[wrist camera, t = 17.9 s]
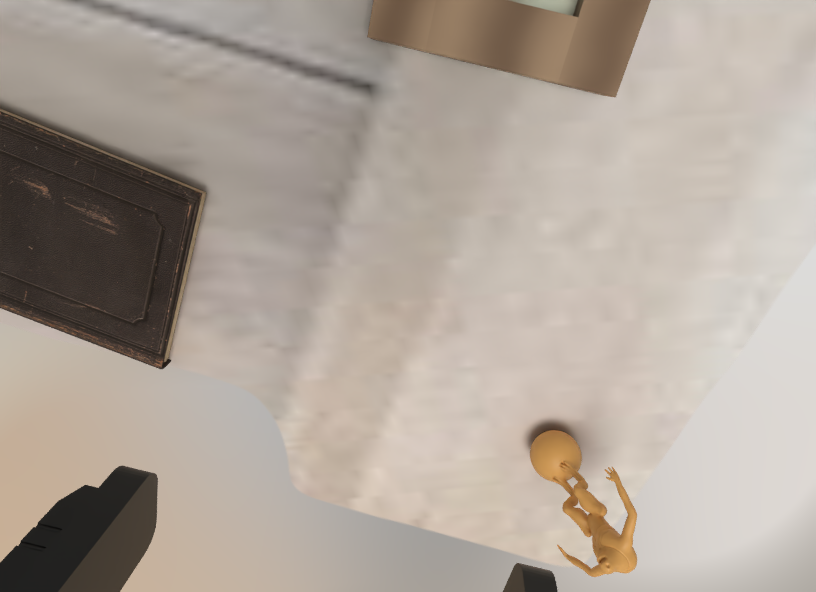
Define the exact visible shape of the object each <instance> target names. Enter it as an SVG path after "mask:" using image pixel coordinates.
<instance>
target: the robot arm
mask: <svg viewBox="0 0 816 592" xmlns="http://www.w3.org/2000/svg"><path fill="white" fill-rule="evenodd" d="M157 485H158V478H157V475H156V474H155V473H150V472H146V471H142V470H138V469H134V468H130V467H125V466H119V467H118V468H116V469H115V470H114V471H113V472H112V473H111V474H110V475H109V477H108V478H107V479H106V480H105V481H104V482H103V483H102V485H101V486H100V487H99V488H96V487H92V486H88V485H84V486H83V487H81V488H79V489H78V490H76V491H74V492H73V493H71V494H69V495H68V496H66V497H64V498H63V499H61V500H59V501H58V502H57V503H56V504H55V505H54V506H53V507H52V508H51V509H50V510H49V512H48V513H47V514H46V515H45V516H44V517H43V518H42V519H41V520H40V521H39V522H38V525H37V526H36V527H34V528H33V529H32V530H31V531H30V532H29V533H28V534H27V535H26V536H25V537H24V538H23V539H22V540H21V543H20V544H19V546H16V547H15V548H14V549H13V550H12V551H11V552H10V553H9V554H8V555H7V556H6V557H5V558H4V559H3V561H2V562H0V592H120V590H121V589H122V587H123V586H124V584H125V583H126V581H127V580H128V578H129V577H130V575H131V574H132V572H133V571H134V569H135V568H136V566H137V564H138V563H139V562H140V560H141V558H142V557H143V556H144V554H145V552H146V551H147V549H148V547H149V545H150V543H151V540H152V537H153V535H154V532H155V528H156V518H157ZM503 592H557V586H556V581H555V577H554V574H553V573H552V572H551V571H549V570H545V569H541V568H537V567H533V566H528V565H524V564H519V563H517V564H516V565H515V566H514V568H513V570H512V572H511V575H510V577H509V579H508V581H507V584H506V586H505V588H504V590H503Z"/></svg>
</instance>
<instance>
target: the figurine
mask: <svg viewBox="0 0 816 592" xmlns="http://www.w3.org/2000/svg"><path fill="white" fill-rule="evenodd" d="M530 458H531V462H532V465H533V467H534V469H535V470H536V472H537V473H538V474H539V475H540V476H542V477H543V478H545V479H547V480H549V481H553V482H556V483H558V484H560V485H561V486H563V487H564V488H565V490H566V491H567V492H568V493H569V494H570V495H571V496H570V497H569V498H568V499H567V500H566V501H565V502H564V503H563V511H564V513H566V514H567V515H569V516H570V517H571V518H572V519H573V520H574V521H575V522H576V523H577V524H578V525H579V527H580V528H581V530H582V531H583V533H584V534H585V536H587V537H590V536H593V537H592V542H593V549H594V550H593V551H594V553H595V555H596V557H597V562H598V563H599V565H597V566H595V567H593V568H592V569H591V568H590V567H589V566H588V565H586V564H584V563H583V562H581V561H580V560H578V559H577V558H575V557H572V556H569V555H568V554H567V553H565V552H564V550H563V549H562V548H560V547H559V545H557V546H558V547H559V549H560V551H561V552H562V553H563V555H564V556H565V557H566V558H567V559H568V560H569V561H570V562H571V563H573V564H574V565H576V566H577V567H579V568H581V569H583V570H584V571H585V572H586V573H587V574H588V575H590V576H592V577H597V576H601V575H603V574H611V573H613V572H620V573H629V572H631V571H632V570H634V569H635V567H636V564H637V556H636V553H635V551H634V549H633V547H632V544H633V533H634V529H635V524H636V519H637V513H636V511H635V508H634V506H633V505H632V503H631V501H630V499H629V497H628V495H627V493H626V491H625V489H624V487H623V486H622V484H621V481H620V478H619V476H618V474H617V472H616V471H615V469H614V468H613V467H612V469H613V471H614V472H613V471H612V470H611V469H610V468H609V467H608V469H609V470H610V472H611V473H610V472H608V471H607V470H605V471H606V472H607V473H608V474H609V475H610V476H611V478H609V477H606V478H607V479H609V480H611V481H614V482H615V483H616V486H617V490H618V493H619V495H620V497H621V499H622V501H623V503H624V505H625V508H626V510H627V513H628V517H627V519H626V522H625V525H624V528H623V531H622V534H621V535H620V534H619V533H618V532H617V531H615V529H614V528H612V527H611V526H610V525H609V524H608V523H607V521H606V520H605V519H604V517H603V516H605V515H606V513H607V509H606V507H605V506H604V505H603V504H602V503H600V502H599V501H598V500H597V499H596V498H595V497H594V496H593V495H592V494H591V493H590V492H588V491H587V490H586V489H587V488H588V484H587V483H586V482H585V480H584V478H583V477H582V476H581V475H580V474H579V473H578V470H579V468H580V466H581V460H582V456H581V451H580V448H579V446H578V444H577V442H576V441H575V440H574V439H573V438H572V437H571V436H570V435H568V434H566V433H564V432H562V431H557V430H550V431H546V432H544V433H542V434H540V435H539V436H538V437H537V438H536V439H535V440H534V442H533V443H532V446H531V450H530ZM572 477H574V478H575V479H576V480H577V481H578V483H577V484H576V485H574V490H573V488H572V487H571V486H570V485H569V484H568V482H567V481H566V480H569V479H571V478H572ZM578 500H579V503H580V505H581V507H582V508H583V509H584V510H586V511H587V512H589V513H590V514H588V515H587V514H586V513H585V512H584V511H583V510H582V509H580V508H574V507H573V506H576V505H577V504H578Z"/></svg>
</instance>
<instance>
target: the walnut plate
mask: <svg viewBox="0 0 816 592" xmlns="http://www.w3.org/2000/svg"><path fill="white" fill-rule="evenodd" d="M650 1H651V0H374V1H373V7H372V13H371V18H370V24H369V30H368V36H367V37H369V38H371V39H374V40H378V41H382V42H386V43H390V44H394V45H398V46H402V47H406V48H411V49H415V50H419V51H423V52H427V53H431V54H435V55H439V56H443V57H448V58H452V59H456V60H460V61H464V62H468V63H472V64H476V65H480V66H485V67H489V68H493V69H497V70H501V71H505V72H509V73H513V74H517V75H521V76H526V77H530V78H534V79H538V80H542V81H546V82H550V83H554V84H558V85H563V86H567V87H571V88H575V89H579V90H583V91H587V92H591V93H595V94H600V95H604V96H610V97H616V95H617V92H618V89H619V86H620V83H621V81H622V78H623V75H624V72H625V70H626V67H627V64H628V61H629V59H630V56H631V53H632V50H633V48H634V45H635V42H636V39H637V37H638V34H639V31H640V28H641V25H642V23H643V20H644V17H645V14H646V12H647V9H648V6H649V3H650Z"/></svg>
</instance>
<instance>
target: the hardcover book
mask: <svg viewBox="0 0 816 592" xmlns="http://www.w3.org/2000/svg"><path fill="white" fill-rule="evenodd" d="M205 197H206V192H204V191H201V190H199V189H196V188H194V187H191V186H189V185H186V184H184V183H182V182H179V181H177V180H174V179H172V178H169V177H167V176H164V175H162V174H159V173H157V172H155V171H152V170H150V169H147V168H145V167H142V166H140V165H137V164H135V163H132V162H130V161H128V160H125V159H123V158H120V157H118V156H115V155H113V154H110V153H108V152H105V151H103V150H101V149H98V148H96V147H93V146H91V145H88V144H86V143H83V142H81V141H78V140H76V139H74V138H71V137H69V136H66V135H64V134H61V133H59V132H56V131H54V130H51V129H49V128H47V127H44V126H42V125H39V124H37V123H34V122H32V121H29V120H27V119H24V118H22V117H20V116H17V115H15V114H12V113H10V112H7V111H5V110H2V109H0V308H2V309H4V310H7V311H9V312H12V313H15V314H17V315H20V316H23V317H25V318H28V319H30V320H33V321H36V322H38V323H41V324H44V325H46V326H49V327H51V328H54V329H57V330H59V331H62V332H65V333H67V334H70V335H72V336H75V337H78V338H80V339H83V340H86V341H88V342H91V343H93V344H96V345H99V346H101V347H104V348H106V349H109V350H112V351H114V352H117V353H120V354H122V355H125V356H127V357H130V358H133V359H135V360H138V361H141V362H143V363H146V364H148V365H151V366H154V367H156V368H159V369H163V368H165V367H166V366H167V365H168V364H169V363H170V362H171V360H169V359H168V357H169V352H170V348H171V344H172V339H173V335H174V331H175V326H176V322H177V318H178V313H179V309H180V305H181V301H182V296H183V292H184V288H185V283H186V279H187V275H188V270H189V266H190V262H191V257H192V253H193V249H194V244H195V240H196V236H197V231H198V227H199V223H200V218H201V214H202V210H203V205H204V201H205Z"/></svg>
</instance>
